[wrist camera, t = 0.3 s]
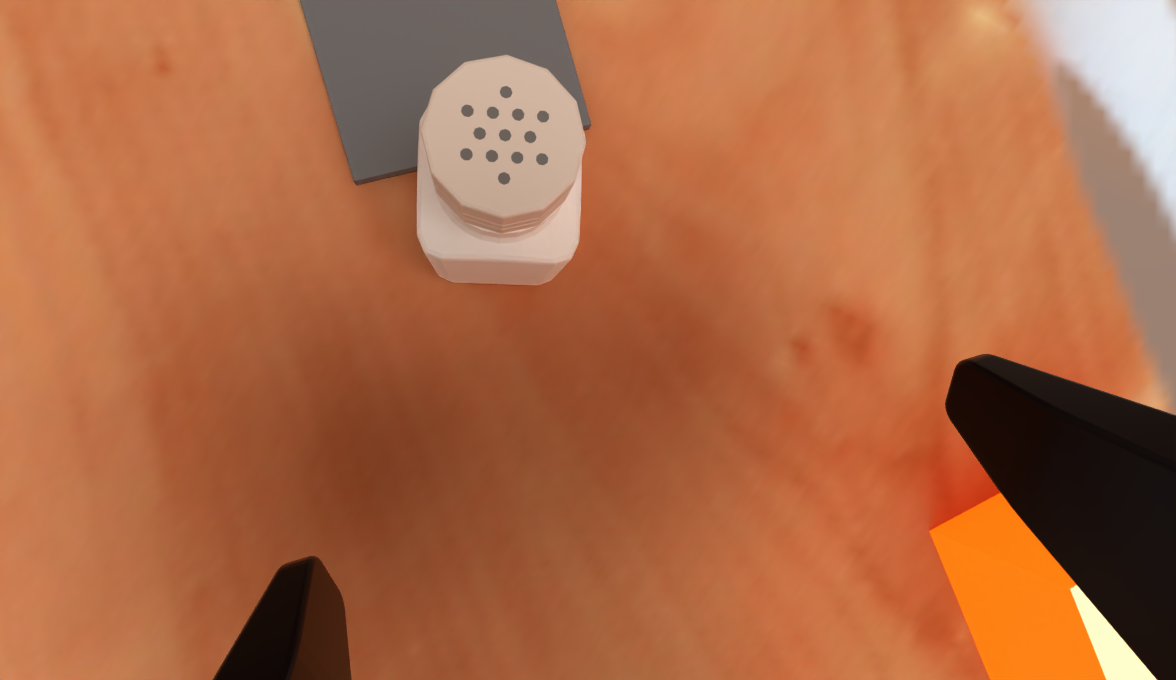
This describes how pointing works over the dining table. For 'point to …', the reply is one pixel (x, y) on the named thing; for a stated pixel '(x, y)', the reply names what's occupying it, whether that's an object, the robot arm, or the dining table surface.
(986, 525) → the orange juice
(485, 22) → the coaster
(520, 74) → the pepper shaker
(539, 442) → the dining table surface
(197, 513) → the dining table surface
